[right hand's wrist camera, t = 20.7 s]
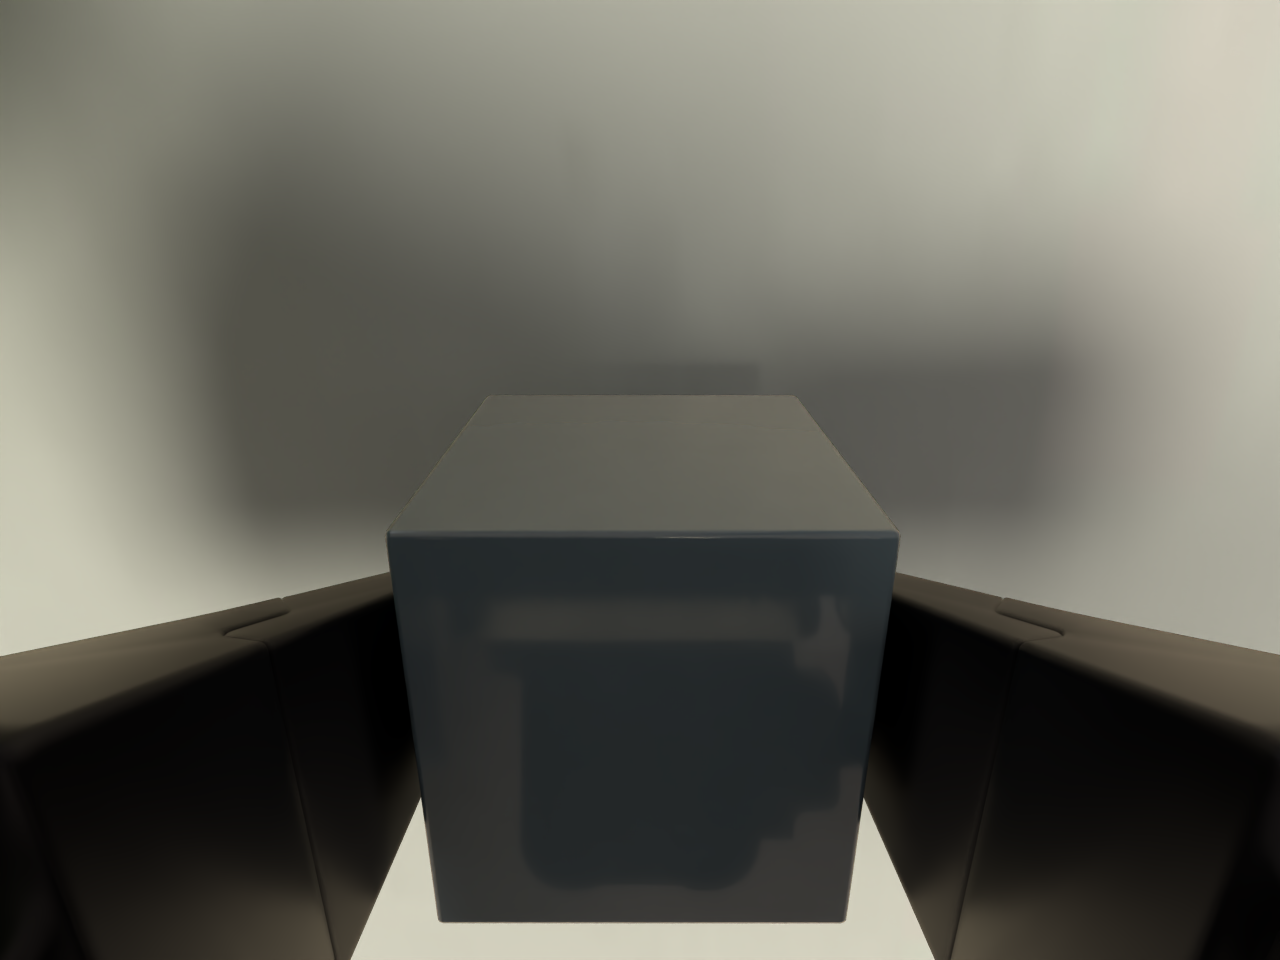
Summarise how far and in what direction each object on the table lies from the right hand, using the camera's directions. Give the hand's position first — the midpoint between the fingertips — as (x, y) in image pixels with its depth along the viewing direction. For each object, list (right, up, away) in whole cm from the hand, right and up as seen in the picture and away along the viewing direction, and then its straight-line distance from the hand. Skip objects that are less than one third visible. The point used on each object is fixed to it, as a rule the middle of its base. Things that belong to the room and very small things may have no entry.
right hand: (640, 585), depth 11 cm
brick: (0, +1, +1) cm, 1 cm away
